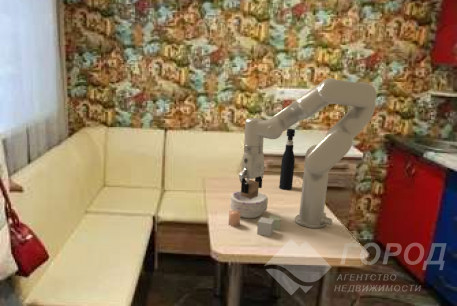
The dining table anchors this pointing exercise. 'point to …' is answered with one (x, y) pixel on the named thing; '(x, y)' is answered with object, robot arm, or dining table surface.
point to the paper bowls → (249, 204)
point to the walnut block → (251, 190)
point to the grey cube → (265, 226)
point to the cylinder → (234, 218)
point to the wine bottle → (287, 163)
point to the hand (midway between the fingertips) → (251, 190)
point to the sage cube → (276, 221)
